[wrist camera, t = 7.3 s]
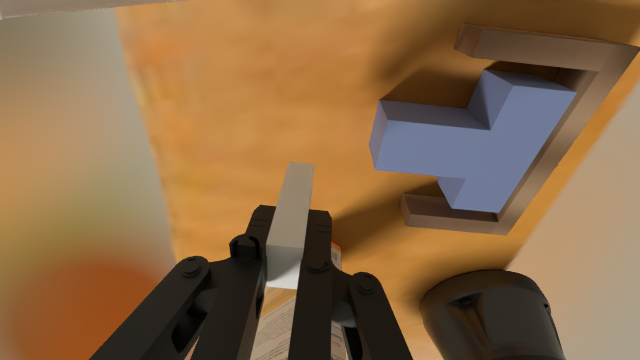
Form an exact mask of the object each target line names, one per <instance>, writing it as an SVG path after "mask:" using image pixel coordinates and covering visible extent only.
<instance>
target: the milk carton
mask: <svg viewBox="0 0 640 360" xmlns="http://www.w3.org/2000/svg"><path fill="white" fill-rule="evenodd" d="M174 1H184V0H0V20H1V19H3V18H10V17H20V16H30V15H40V14H50V13H61V12H70V11H82V10H92V9H102V8H112V7H123V6H133V5H143V4H153V3H164V2H174Z"/></svg>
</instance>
